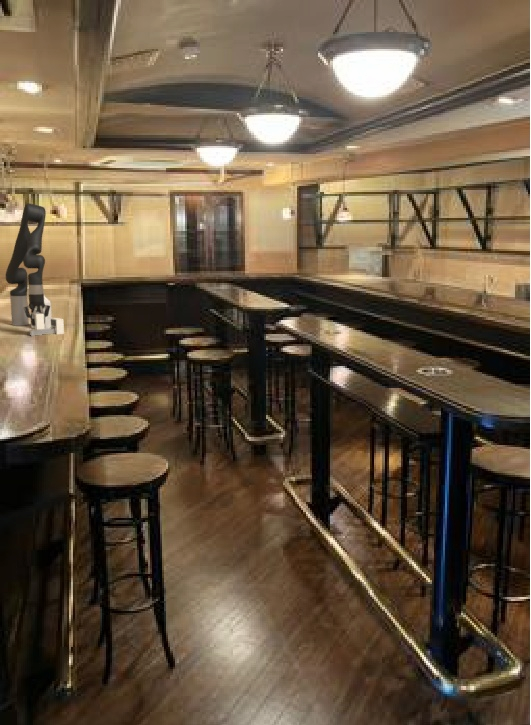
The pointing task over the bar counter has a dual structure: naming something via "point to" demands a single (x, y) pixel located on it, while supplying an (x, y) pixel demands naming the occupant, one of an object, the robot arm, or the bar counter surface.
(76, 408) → the bar counter surface
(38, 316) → the cream rectangular block
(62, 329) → the block
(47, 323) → the milk carton
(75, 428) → the bar counter surface
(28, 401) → the bar counter surface
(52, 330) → the rail
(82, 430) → the bar counter surface
